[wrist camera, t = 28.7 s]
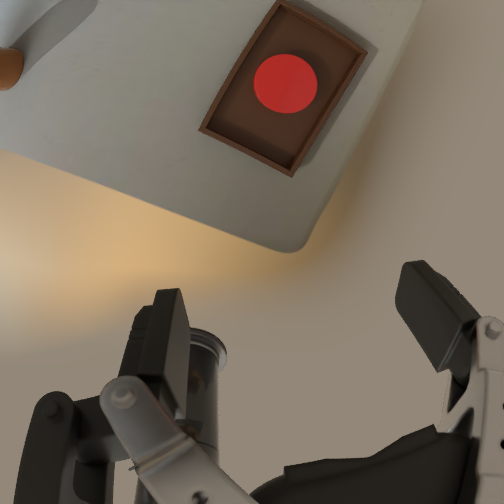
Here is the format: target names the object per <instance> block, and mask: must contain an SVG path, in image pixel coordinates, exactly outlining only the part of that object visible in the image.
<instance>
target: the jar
mask: <svg viewBox="0 0 504 504" xmlns="http://www.w3.org/2000/svg"><path fill="white" fill-rule="evenodd" d="M23 63H24V60H23V55H22V53H21V51H20V50H18V49H16V48H4V47H0V91H5V90H8V89H10V88H11V87H13V86H14V85H15V84H16V82H17V81H18V79H19V77H20V75H21V73H22V70H23Z"/></svg>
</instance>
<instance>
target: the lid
mask: <svg viewBox="0 0 504 504" xmlns="http://www.w3.org/2000/svg"><path fill="white" fill-rule="evenodd" d="M253 89H254V92H255V95H256V97H257V99H258V100H259V101H260V102H261V103H262V104H263V105H264V106H265V107H267V108H268V109H270V110H272V111H276V112H280V113H295V112H298V111H300V110H303V109H304V108H306V107H307V106H308V105H309V104H310V103H311V102H312V100H313V99H314V97H315V95H316V92H317V79H316V75H315V73H314V71H313V69H312V68H311V66H310V65H309V64H308V63H307V62H306V61H304V60H303V59H301V58H299V57H297V56H294V55H289V54H280V55H275V56H272V57H270V58H268V59H267V60H265V61H264V62H263V63H262V64H261V65H260V66H259V67H258V69H257V70H256V72H255V74H254V78H253Z"/></svg>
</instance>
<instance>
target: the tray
mask: <svg viewBox="0 0 504 504" xmlns="http://www.w3.org/2000/svg"><path fill="white" fill-rule="evenodd" d="M367 53H368V52H367V51H365V50H364V49H363V48H361V47H360V46H359V45H357V44H356V43H354V42H353V41H352V40H350V39H349V38H347V37H346V36H344V35H343V34H341V33H340V32H338V31H337V30H335V29H334V28H332V27H330V26H329V25H327V24H326V23H324V22H322V21H321V20H319V19H317V18H316V17H314V16H312V15H311V14H309V13H307V12H305V11H304V10H302V9H300V8H298V7H296V6H294V5H293V4H291V3H289V2H287V1H285V0H276V2H275V3H274V5H273V6H272V8H271V9H270V10H269V12H268V13H267V15H266V16H265V18H264V19H263V21H262V22H261V24H260V25H259V27H258V28H257V30H256V31H255V33H254V34H253V36H252V37H251V39H250V40H249V42H248V44H247V45H246V47H245V48H244V50H243V52H242V53H241V55H240V56H239V58H238V60H237V61H236V63H235V65H234V66H233V68H232V70H231V71H230V73H229V75H228V76H227V78H226V80H225V82H224V83H223V85H222V87H221V89H220V90H219V92H218V94H217V96H216V98H215V99H214V101H213V103H212V105H211V107H210V109H209V111H208V112H207V114H206V116H205V118H204V120H203V122H202V124H201V126H200V128H199V130H198V131H200V132H202V133H204V134H206V135H208V136H210V137H213V138H215V139H217V140H219V141H221V142H223V143H225V144H227V145H229V146H231V147H233V148H235V149H237V150H239V151H241V152H243V153H245V154H247V155H249V156H251V157H253V158H255V159H257V160H259V161H261V162H263V163H265V164H267V165H269V166H271V167H272V168H274V169H276V170H278V171H280V172H282V173H284V174H286V175H287V176H289V177H291V178H292V177H293V175H294V173H295V172H296V170H297V168H298V167H299V165H300V164H301V162H302V160H303V159H304V157H305V155H306V154H307V152H308V150H309V149H310V147H311V145H312V144H313V142H314V140H315V139H316V137H317V135H318V134H319V132H320V131H321V129H322V127H323V126H324V124H325V122H326V121H327V119H328V117H329V116H330V114H331V112H332V111H333V109H334V107H335V106H336V104H337V103H338V101H339V99H340V98H341V96H342V94H343V93H344V91H345V89H346V88H347V86H348V85H349V83H350V81H351V80H352V78H353V76H354V75H355V73H356V71H357V70H358V68H359V67H360V65H361V63H362V62H363V60H364V58H365V57H366V55H367ZM280 54H289V55H294V56H297V57H299V58H301V59H303V60H304V61H306V62H307V63H308V64H309V65H310V66H311V68H312V69H313V71H314V73H315V75H316V79H317V92H316V95H315V97H314V99H313V100H312V102H311V103H310V104H309V105H308V106H307V107H306V108H304V109H303V110H300V111H298V112H295V113H280V112H276V111H272V110H270V109H268V108H267V107H265V106H264V105H263V104H262V103H261V102H260V101H259V100H258V99H257V97H256V95H255V92H254V89H253V78H254V74H255V72H256V70H257V69H258V67H259V66H260V65H261V64H262V63H263V62H264V61H265V60H267V59H268V58H270V57H272V56H275V55H280Z"/></svg>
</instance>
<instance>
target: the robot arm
mask: <svg viewBox="0 0 504 504" xmlns="http://www.w3.org/2000/svg"><path fill="white" fill-rule="evenodd" d="M395 304H396V308H397V311H398V312H399V314H400V315H401V317H402V318H403V320H404V321H405V323H406V324H407V326H408V327H409V329H410V330H411V332H412V333H413V335H414V336H415V338H416V339H417V341H418V343H419V344H420V346H421V347H422V349H423V351H424V352H425V353H426V355H427V357H428V359H429V360H430V362H431V363H432V365H433V367H434V368H435V370H436V371H437V373H438V372H441V371H444V370H446V369H449V370H450V371H451V373H450V374H449V376H448V379H447V385H446V393H445V399H444V406H443V411H442V416H441V420H440V423H439V425H438V427H437V428H435V426H434V424H432V425H430V426H428V427H425V428H423V429H420V430H418V431H415V432H413V433H410V434H408V435H405V436H402V437H401V438H400V439H398V440H397V441H395V442H393V443H392V444H390V445H389V446H387V447H386V448H384V449H382V450H381V451H379V452H378V453H376V454H375V455H372V456H371V457H367V458H346V459H322V460H318V461H313V462H308V463H302V464H296V465H290V466H285V467H284V474H283V475H281V476H279V477H276V478H274V479H272V480H270V481H268V482H266V483H264V484H263V485H262V486H259V487H258V488H257V489H255V490H254V491H253V492H251V493H250V494H249V495H248V494H247V493H246V492H245V491H244V490H243V489H242V488H241V487H240V486H239V485H237V484H236V483H235V482H234V481H233V480H232V479H231V478H230V477H229V476H228V475H227V474H226V473H225V472H224V471H223V470H222V469H221V468H220V459H219V412H218V411H219V407H218V367H219V356H218V354H217V352H216V351H215V350H214V349H213V348H212V347H211V346H209V345H208V344H206V343H204V342H201V341H197V340H192V339H191V335H190V326H189V321H188V317H187V314H186V309H185V305H184V302H183V298H182V294H181V291H180V289H179V288H174V289H162V290H157V292H156V295H155V299H154V302H153V305H149V306H143V308H142V309H141V310H140V311H139V312H138V314H137V315H136V316H135V318H134V322H133V325H132V330H131V331H130V335H129V340H128V342H127V345H126V349H125V353H124V356H123V359H122V363H121V367H120V371H119V374H118V377H117V378H115V379H113V380H111V381H110V382H108V383H107V384H106V385H105V386H104V388H103V389H102V391H101V394H100V395H98V396H95V397H91V398H87V399H82V400H78V401H73V400H72V399H71V398H70V397H69V396H68V395H67V394H65V393H63V392H59V391H54V392H50V393H48V394H46V395H44V396H43V397H42V398H41V399H40V400H39V401H38V402H37V404H36V406H35V409H34V412H33V415H32V418H31V422H30V425H29V429H28V433H27V437H26V441H25V445H24V449H23V453H22V458H21V462H20V467H19V472H18V478H17V484H16V489H15V496H14V503H13V504H113V485H114V468H115V462H116V461H121V460H125V459H130V458H131V460H132V461H133V463H134V466H133V467H131V468H129V470H130V471H131V470H133V469H134V468H135V471H136V473H137V475H138V480H137V486H136V493H135V500H134V504H504V323H503V322H501V321H500V320H499V319H497V318H495V317H492V316H484V317H481V316H480V315H479V313H478V312H477V311H476V310H475V309H474V308H473V307H472V305H471V304H470V303H469V302H468V301H467V300H466V299H465V298H464V297H463V295H462V294H460V293H459V291H458V290H457V289H456V288H455V287H453V285H452V284H451V283H450V282H449V280H447V278H446V277H444V276H442V275H441V274H439V273H437V272H436V271H434V270H433V269H432V268H431V267H430V266H429V265H428V264H427V263H426V262H425V261H424V260H418V261H412V262H406V263H404V265H403V267H402V270H401V275H400V279H399V284H398V287H397V291H396V296H395Z"/></svg>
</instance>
